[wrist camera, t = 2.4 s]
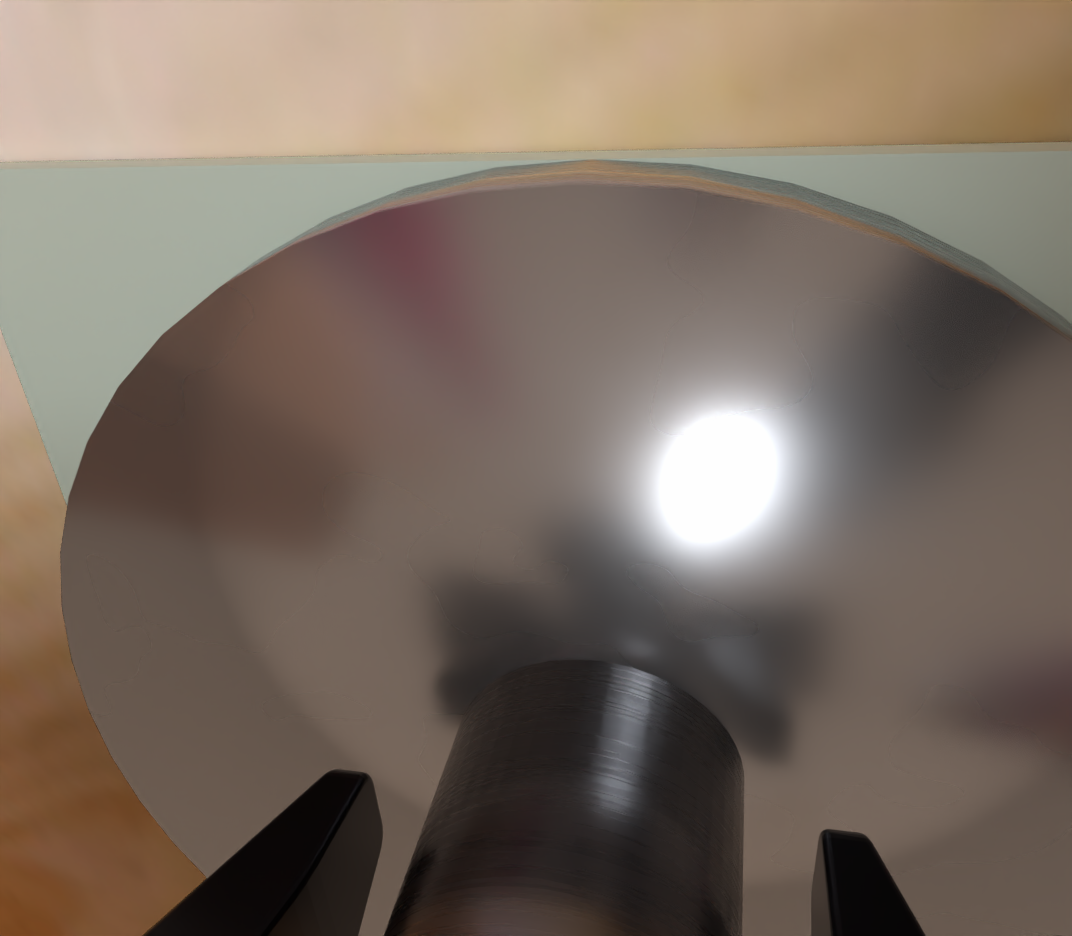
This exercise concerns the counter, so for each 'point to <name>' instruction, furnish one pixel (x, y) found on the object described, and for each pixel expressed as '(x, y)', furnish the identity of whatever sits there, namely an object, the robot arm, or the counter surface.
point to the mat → (352, 180)
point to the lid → (600, 557)
